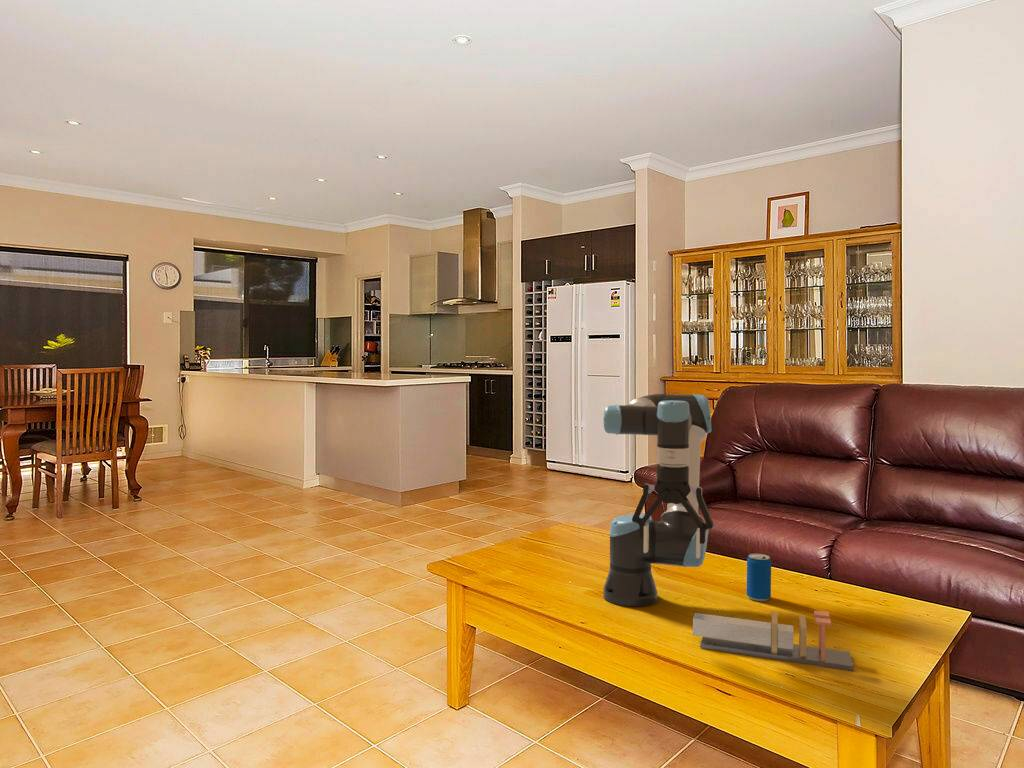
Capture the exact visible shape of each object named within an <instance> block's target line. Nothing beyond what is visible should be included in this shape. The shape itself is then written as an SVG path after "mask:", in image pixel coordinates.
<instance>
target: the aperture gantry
mask: <svg viewBox="0 0 1024 768" xmlns="http://www.w3.org/2000/svg"><path fill="white" fill-rule="evenodd" d="M813 615H814V617H815V619H814V620H815V621H814V622H815V625H818V647H819V650H821V661H825V648H826V632H827V631H826V626H827V627H832V622H831V619H830V613H829V611H822V610H821V611H820V610H813Z"/></svg>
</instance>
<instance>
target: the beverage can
mask: <svg viewBox="0 0 1024 768" xmlns="http://www.w3.org/2000/svg"><path fill="white" fill-rule="evenodd" d="M771 595H772V561H771V558H770V555H766V554H763V553H749V554H748V557H747V558H746V596H747V597H748V598H749V599H751V600H753V601H754V602H755V601H756V602H766V601H769V600H770V599H771V597H772V596H771Z"/></svg>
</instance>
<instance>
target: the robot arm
mask: <svg viewBox="0 0 1024 768" xmlns="http://www.w3.org/2000/svg"><path fill="white" fill-rule="evenodd" d="M603 428H604V431H605V432H606V433H607V434H612V435H613V434H615V435H617V436H618V435H634V436H635V435H638V436H639V435H641V436H643V435H644V436H657V443H656V444H657V445H656V462H657V464H658V465H656V483H655V484H650V483H648V482H646V483H645V484H644V485H643V487H642V494H641V497H640V499H639V502H638V504H637V506H636V509H635V511H634V513H630V514H629V513H628V514H624V515H623V514H622V515H619V516H617V517H615V518H614V519H612V520H611V522H610V528H609V533H608V534H609V570H608V573H607V577H606V580H605V583H604V585H603V589H602V590H603V591H602V592H603V593H602V594H603V598H604V600H605V601H607V602H609V603H611V604H615V605H618V606H625V607H646V606H651V605H653V604H655V603H656V602H658V590H657V585H656V582H655V579H654V577H653V572H652V564H653V565H654V564H656V565H666V566H676V567H683V568H699V567H701V566H702V565H703V563H704V561H705V557H706V552H707V545H708V539H709V538H708V537H709V530H711V529H713V528H714V521H713V519H712V516H711V514H710V511H709V509H708V507H707V504H706V501H705V499H704V496H703V488H702V486H700V475H701V473H700V471H701V470H700V469H701V467H700V466H701V451H702V448H701V447H702V446H701V444H702V442H703V441H705V439H706V438H707V434H709V433H711V432H712V419H711V409H710V401H709V398H708V397H707V396H706V395H704V394H695V393H692V394H679V393H673V394H672V393H671V394H670V393H654V394H648V395H643V396H641V397H636V398H634V399H633V400H631V401H630V402H629V403H628V404H624V405H623V404H622V405H619V404H615V405H614V404H613V405H610V404H609V405H606V407H605V408H604V413H603ZM653 491H655V492H656V494H657V495H658V497H657V499H656V500H655V501H654V503H653V504H652V505H651V507H650V508H649V509H648V510H647V511H646V512H645V513H642V511H643V509H644V507H645V504H646V502H647V500H648V497H649V495H650V494H651V493H653ZM662 502H663V503H664V504H666V505H667V506H666V511H664V512H663V513H662V514H661V516H660V520H659V521H657V520H653V517H652V515H653V513H654V512H655V511H656V509H658V507H659V506H660V504H662ZM699 509H700V511H701V514H702V516H701V515H700V514H699ZM704 521H705V522H704Z"/></svg>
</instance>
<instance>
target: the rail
mask: <svg viewBox="0 0 1024 768" xmlns="http://www.w3.org/2000/svg"><path fill="white" fill-rule="evenodd" d="M771 623H772V645H771V646H764V645H757V644H750V643H743V642H736V641H729V640H722V639H715V638H708V637H701V642H700V649H703V650H710V651H717V652H725V653H732V654H737V655H744V656H752V657H757V658H764V659H771V660H776V661H783V662H791V663H798V664H804V665H811V666H817V667H824V668H829V669H830V668H832V669H836V670H837V669H838V670H844V671H850V672H851V671H852V672H853V671H854V668H855V667H854V663H853V660H852V656H851V652H850V651H846V650H841V649H833V648H826V647H825V661H821V650H819V646H811V645H807V639H808V638H807V633H808V632H807V630H808V629H807V620H806V616H805V615H799V624H798V625H799V627H798V628H799V629H798V630H799V631H798V644H796V643H793V650H792V649H785V648H777V630H778V624H779V623H778V612H776V611H771Z"/></svg>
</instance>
